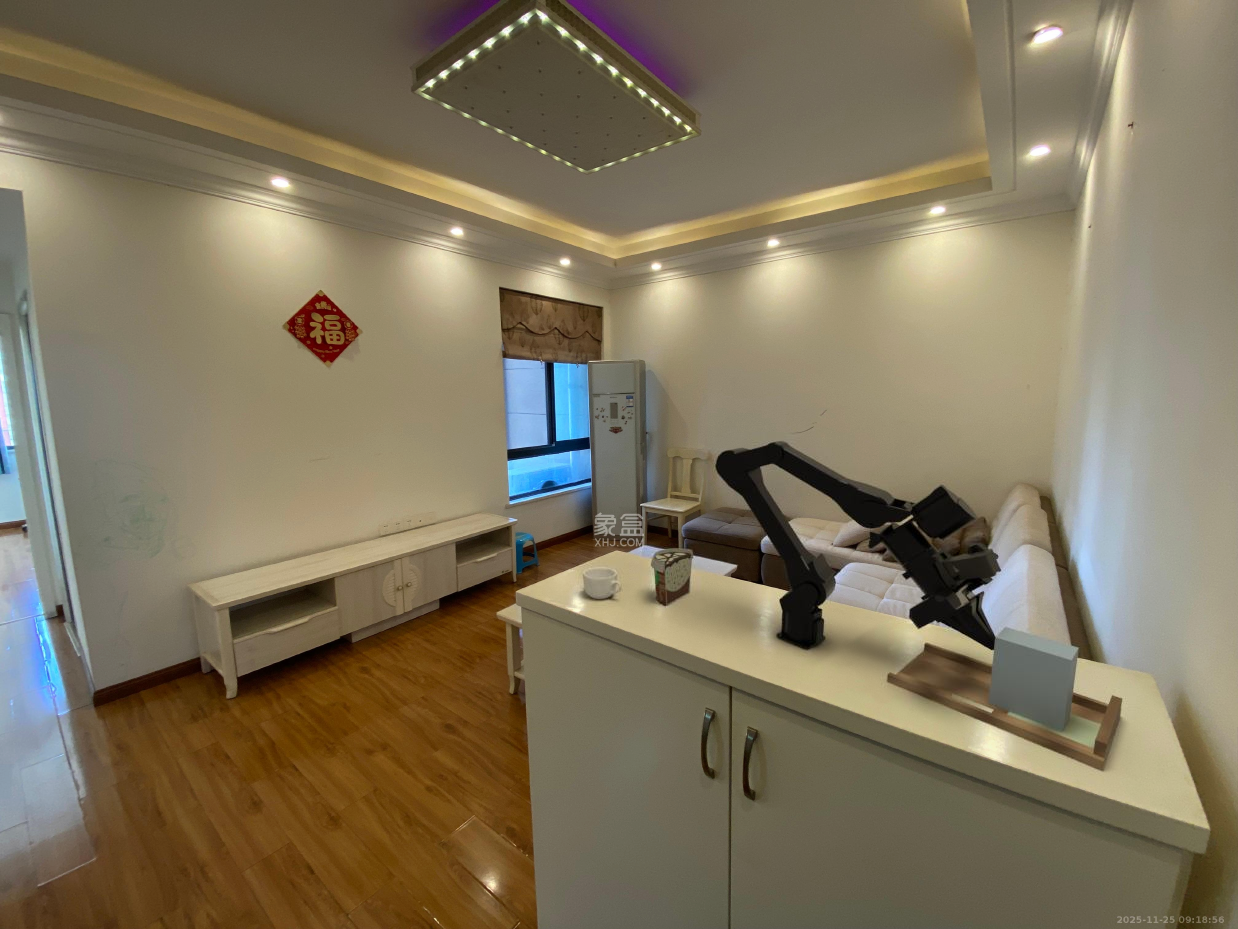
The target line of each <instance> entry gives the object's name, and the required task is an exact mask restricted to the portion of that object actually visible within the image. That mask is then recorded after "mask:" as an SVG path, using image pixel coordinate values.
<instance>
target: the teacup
mask: <svg viewBox="0 0 1238 929" xmlns="http://www.w3.org/2000/svg"><path fill="white" fill-rule="evenodd" d="M582 579H583V586H584V591H585V593H586V594H587V595H588V596H589V597H591V598H592V599H596V600H605V599H608V598H610V597H611V596H612V595H614V594H618V593H620V592H622V587H623V586H622V584H621V583H620V581H619V580H618V572H617V570H616V569H614V568H611V567H606V566H595V567H589V568H586V569H584V570H583V572H582ZM617 585H618V590H617V589H616V588H617Z"/></svg>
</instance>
